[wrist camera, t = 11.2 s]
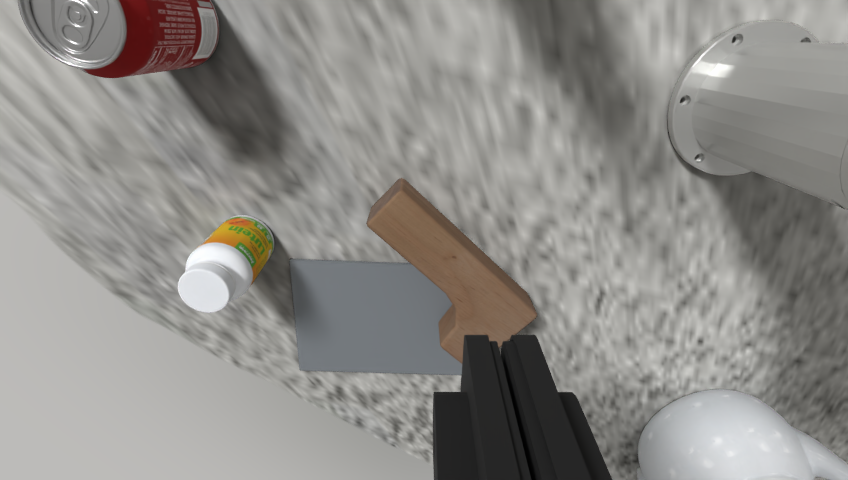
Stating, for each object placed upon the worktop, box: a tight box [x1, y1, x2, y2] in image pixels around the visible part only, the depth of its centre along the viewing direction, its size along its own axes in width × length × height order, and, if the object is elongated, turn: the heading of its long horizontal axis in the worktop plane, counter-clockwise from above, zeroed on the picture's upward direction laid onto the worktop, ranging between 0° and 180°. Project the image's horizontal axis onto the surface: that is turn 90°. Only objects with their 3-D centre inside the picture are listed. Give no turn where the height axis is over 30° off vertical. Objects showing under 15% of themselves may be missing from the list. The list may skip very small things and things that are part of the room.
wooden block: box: [366, 178, 537, 364], centre depth 42 cm, size 9×4×18 cm
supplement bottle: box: [178, 215, 274, 313], centre depth 38 cm, size 5×5×10 cm
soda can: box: [18, 0, 220, 78], centre depth 29 cm, size 7×7×12 cm
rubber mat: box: [289, 259, 462, 375], centre depth 47 cm, size 21×14×1 cm, turn 87°
